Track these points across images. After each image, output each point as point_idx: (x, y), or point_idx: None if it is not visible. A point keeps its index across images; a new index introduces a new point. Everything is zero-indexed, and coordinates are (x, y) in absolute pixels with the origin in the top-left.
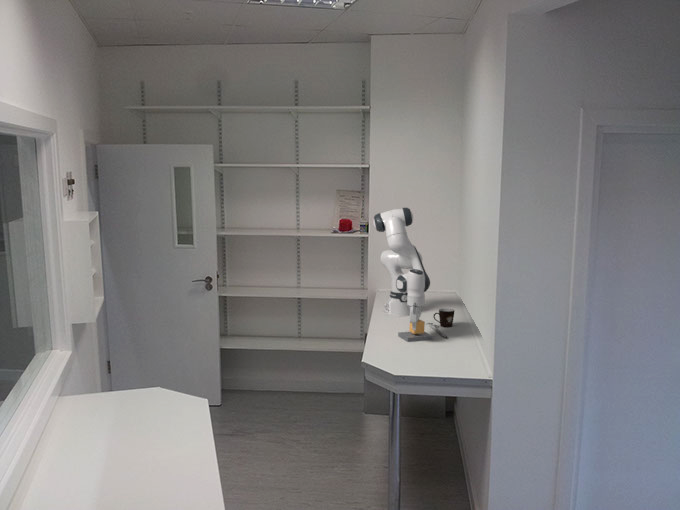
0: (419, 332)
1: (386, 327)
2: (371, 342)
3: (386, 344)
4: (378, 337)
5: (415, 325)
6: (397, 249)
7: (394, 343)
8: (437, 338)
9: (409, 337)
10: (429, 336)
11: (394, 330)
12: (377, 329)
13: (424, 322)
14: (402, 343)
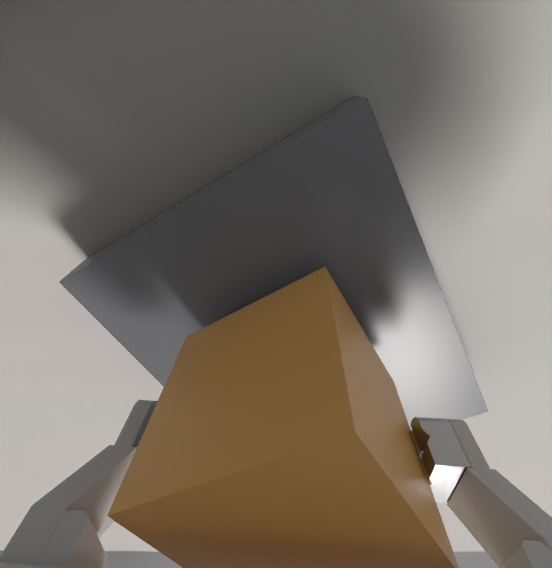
0: (364, 337)
1: (8, 508)
2: (470, 549)
3: (541, 493)
4: None
5: (531, 510)
6: None
7: (516, 456)
8: (244, 16)
9: (468, 400)
10: (392, 167)
11: (68, 470)
12: (101, 539)
13: (351, 412)
14: (525, 411)
